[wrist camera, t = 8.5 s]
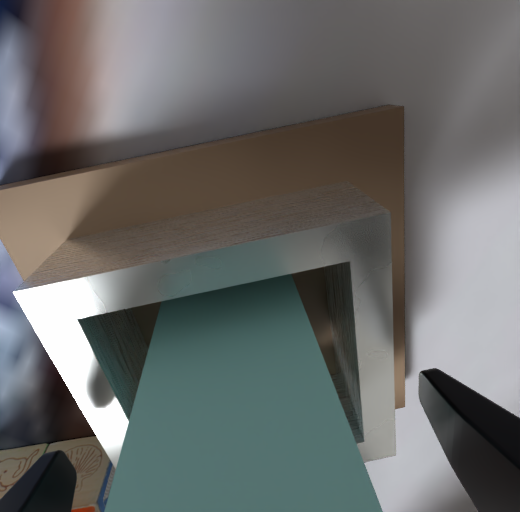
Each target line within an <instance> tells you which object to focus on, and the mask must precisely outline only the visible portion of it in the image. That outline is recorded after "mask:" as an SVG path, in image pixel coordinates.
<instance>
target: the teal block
mask: <svg viewBox="0 0 520 512" xmlns="http://www.w3.org/2000/svg"><path fill="white" fill-rule="evenodd" d="M104 512H383V511H382V509H381V506H380V503H379V501H378V498H377V496H376V493H375V490H374V488H373V485H372V483H371V480H370V477H369V475H368V472H367V470H366V467H365V464H364V462H363V459H362V457H361V454H360V451H359V449H358V446H357V444H356V441H355V438H354V436H353V433H352V431H351V428H350V425H349V423H348V420H347V418H346V415H345V412H344V410H343V407H342V405H341V402H340V400H339V397H338V394H337V392H336V389H335V387H334V384H333V381H332V379H331V376H330V374H329V371H328V368H327V366H326V363H325V361H324V358H323V355H322V353H321V350H320V348H319V345H318V342H317V340H316V337H315V335H314V332H313V329H312V327H311V324H310V322H309V319H308V316H307V314H306V311H305V309H304V306H303V303H302V301H301V298H300V296H299V293H298V290H297V288H296V285H295V283H294V280H293V277H292V275H291V274H287V275H282V276H278V277H273V278H268V279H264V280H259V281H254V282H250V283H245V284H240V285H236V286H231V287H226V288H221V289H217V290H212V291H207V292H203V293H198V294H193V295H189V296H184V297H179V298H174V299H170V300H165V301H162V302H161V305H160V309H159V313H158V316H157V320H156V324H155V327H154V331H153V335H152V338H151V342H150V346H149V349H148V353H147V357H146V360H145V364H144V368H143V371H142V375H141V379H140V382H139V386H138V390H137V393H136V397H135V401H134V405H133V408H132V412H131V416H130V419H129V423H128V427H127V430H126V434H125V438H124V441H123V445H122V449H121V452H120V456H119V460H118V463H117V467H116V471H115V474H114V478H113V482H112V485H111V489H110V493H109V496H108V500H107V504H106V507H105V511H104Z"/></svg>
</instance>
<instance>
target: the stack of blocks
mask: <svg viewBox="0 0 520 512" xmlns="http://www.w3.org/2000/svg"><path fill="white" fill-rule="evenodd" d="M57 450H62V451H64V452H65V454H66V455H67V457H68V458H69V460H70V461H71V463H72V464H73V466H74V467H75V469H76V472H77V482H76V488H75V493H74V499H73V504H72V510H71V512H104V511H105V507H106V504H107V500H108V496H109V493H110V489H111V485H112V482H113V478H114V474H115V471H116V469H115V467H114V465H113V464H112V462H111V460H110V458H109V457H108V455H107V453H106V451H105V450H104V448H103V446H102V445H101V443H100V441H99V439H98V438H97V436H92V437H85V438H79V439H73V440H67V441H61V442H55V443H52V444H46V443H45V444H38V445H33V446H26V447H20V448H14V449H7V450H1V451H0V499H1V498H2V497H3V496H4V495H5V494H6V493H7V491H8V490H9V489H10V488H11V487H12V486H13V485H14V484H15V483H16V482H17V481H18V480H19V479H20V478H21V477H22V476H23V475H24V473H25V472H26V471H27V470H28V469H29V468H30V467H31V466H32V465H33V464H34V463H35V462H36V461H37V460H38V459H39V458H40V457H41V456H42V455H43V454H45V453H48V452H52V451H57Z"/></svg>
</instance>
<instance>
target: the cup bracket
mask: <svg viewBox="0 0 520 512" xmlns="http://www.w3.org/2000/svg"><path fill="white" fill-rule="evenodd" d="M320 267H324V273H325V282H326V290H327V299H328V307H329V316H330V324H331V333H332V341H333V350H334V358H335V367H336V373H334V374H330V376H331V379H332V381H333V384H334V387H335V389H336V392H337V394H338V397H339V400H340V402H341V405H342V407H343V410H344V412H345V415H346V418H347V420H348V423H349V425H350V428H351V431H352V433H353V436H354V438H355V441H356V444H357V446H358V449H359V451H360V454H361V457H362V459H363V462H368V461H372V460H377V459H382V458H386V457H391V456H395V455H396V439H395V391H394V344H393V296H392V249H391V212H389V211H388V210H387V209H385V208H384V207H383V206H381V205H380V204H378V203H377V202H376V201H374V200H373V199H372V198H370V197H369V196H367V195H366V194H365V193H363V192H362V191H361V190H359V189H358V188H356V187H355V186H354V185H352V184H351V183H350V182H348V181H344V182H339V183H334V184H329V185H324V186H320V187H315V188H310V189H305V190H301V191H296V192H291V193H286V194H282V195H277V196H272V197H267V198H263V199H258V200H253V201H248V202H243V203H239V204H234V205H229V206H224V207H220V208H215V209H210V210H205V211H201V212H196V213H191V214H186V215H182V216H177V217H172V218H167V219H162V220H158V221H153V222H148V223H143V224H139V225H134V226H129V227H124V228H120V229H115V230H110V231H105V232H101V233H96V234H91V235H86V236H81V237H77V238H72V239H67V240H65V241H64V242H63V243H62V244H61V245H60V246H59V247H58V248H57V249H56V250H55V251H54V252H53V253H52V254H51V255H50V256H49V257H48V258H47V259H46V260H45V261H44V262H43V263H42V264H41V265H40V266H39V267H38V268H37V269H36V270H35V271H34V272H33V273H32V274H31V275H30V276H29V277H28V278H27V279H26V280H25V281H24V282H23V283H22V284H21V285H20V286H19V287H18V288H17V289H16V290H15V291H14V292H13V293H14V295H15V297H16V298H17V300H18V302H19V303H20V305H21V307H22V309H23V310H24V312H25V314H26V315H27V317H28V319H29V321H30V322H31V324H32V326H33V328H34V329H35V331H36V333H37V334H38V336H39V338H40V340H41V341H42V343H43V345H44V346H45V348H46V350H47V352H48V353H49V355H50V357H51V359H52V360H53V362H54V364H55V365H56V367H57V369H58V371H59V372H60V374H61V376H62V377H63V379H64V381H65V383H66V384H67V386H68V388H69V389H70V391H71V393H72V395H73V396H74V398H75V400H76V402H77V403H78V405H79V407H80V408H81V410H82V412H83V414H84V415H85V417H86V419H87V420H88V422H89V424H90V426H91V427H92V429H93V431H94V433H95V434H96V436H97V438H98V439H99V441H100V443H101V445H102V446H103V448H104V450H105V451H106V453H107V455H108V457H109V458H110V460H111V462H112V464H113V465H114V467H115V469H116V467H117V463H118V460H119V456H120V452H121V449H122V445H123V441H124V438H125V434H126V430H127V427H128V423H129V419H130V416H131V412H132V408H133V405H134V401H135V397H136V393H137V390H138V386H139V382H140V379H141V375H142V371H143V368H144V364H145V360H146V357H147V353H148V348H147V345H146V343H145V340H144V338H143V336H142V333H141V331H140V328H139V326H138V324H137V321H136V319H135V316H134V314H133V312H132V309H131V308H132V307H137V306H142V305H146V304H151V303H156V302H160V301H165V300H170V299H174V298H179V297H184V296H189V295H193V294H198V293H203V292H207V291H212V290H217V289H221V288H226V287H231V286H236V285H240V284H245V283H250V282H254V281H259V280H264V279H268V278H273V277H278V276H282V275H287V274H292V273H297V272H301V271H306V270H311V269H315V268H320Z"/></svg>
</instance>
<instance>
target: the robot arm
mask: <svg viewBox="0 0 520 512" xmlns="http://www.w3.org/2000/svg"><path fill="white" fill-rule="evenodd" d="M419 399H420V402H421V405H422V407H423V409H424V411H425V413H426V415H427V417H428V419H429V421H430V424H431V426H432V428H433V430H434V432H435V434H436V436H437V438H438V440H439V442H440V444H441V446H442V449H443V451H444V453H445V455H446V457H447V459H448V461H449V463H450V465H451V467H452V468H453V470H454V472H455V473H456V475H457V477H458V479H459V480H460V482H461V484H462V485H463V487H464V488H465V490H466V492H467V493H468V495H469V497H470V498H471V500H472V502H473V503H474V505H475V507H476V508H477V510H478V512H520V418H519V417H517V416H516V415H514V414H512V413H511V412H509V411H507V410H506V409H504V408H502V407H501V406H499V405H497V404H496V403H494V402H492V401H491V400H489V399H487V398H486V397H484V396H482V395H481V394H479V393H477V392H476V391H474V390H472V389H471V388H469V387H467V386H466V385H464V384H462V383H461V382H459V381H457V380H456V379H454V378H452V377H451V376H449V375H447V374H446V373H444V372H442V371H441V370H439V369H436V368H433V369H428V370H424V371H421V372H420V373H419ZM76 482H77V472H76V469H75V467H74V466H73V464H72V463H71V461H70V460H69V458H68V457H67V455H66V454H65V452H64V451H62V450H57V451H52V452H48V453H45V454H43V455H42V456H41V457H40V458H39V459H38V460H37V461H36V462H35V463H34V464H33V465H32V466H31V467H30V468H29V469H28V470H27V471H26V472H25V473H24V475H23V476H22V477H21V478H20V479H19V480H18V481H17V482H16V483H15V484H14V485H13V486H12V487H11V488H10V489H9V490H8V491H7V493H6V494H5V495H4V496H3V497H2V498H1V499H0V512H71V510H72V504H73V499H74V493H75V488H76Z"/></svg>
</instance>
